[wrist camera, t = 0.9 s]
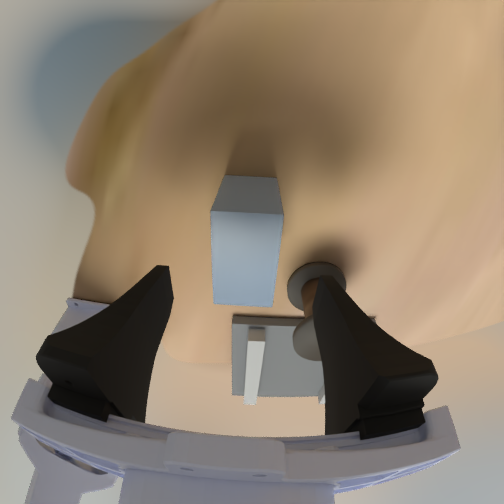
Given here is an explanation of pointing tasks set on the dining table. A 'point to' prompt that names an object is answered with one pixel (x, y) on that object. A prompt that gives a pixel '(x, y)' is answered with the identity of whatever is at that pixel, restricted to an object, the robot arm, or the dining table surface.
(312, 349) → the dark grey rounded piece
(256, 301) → the blue-grey block
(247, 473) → the robot arm
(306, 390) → the grey railed square plate
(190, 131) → the dining table surface
